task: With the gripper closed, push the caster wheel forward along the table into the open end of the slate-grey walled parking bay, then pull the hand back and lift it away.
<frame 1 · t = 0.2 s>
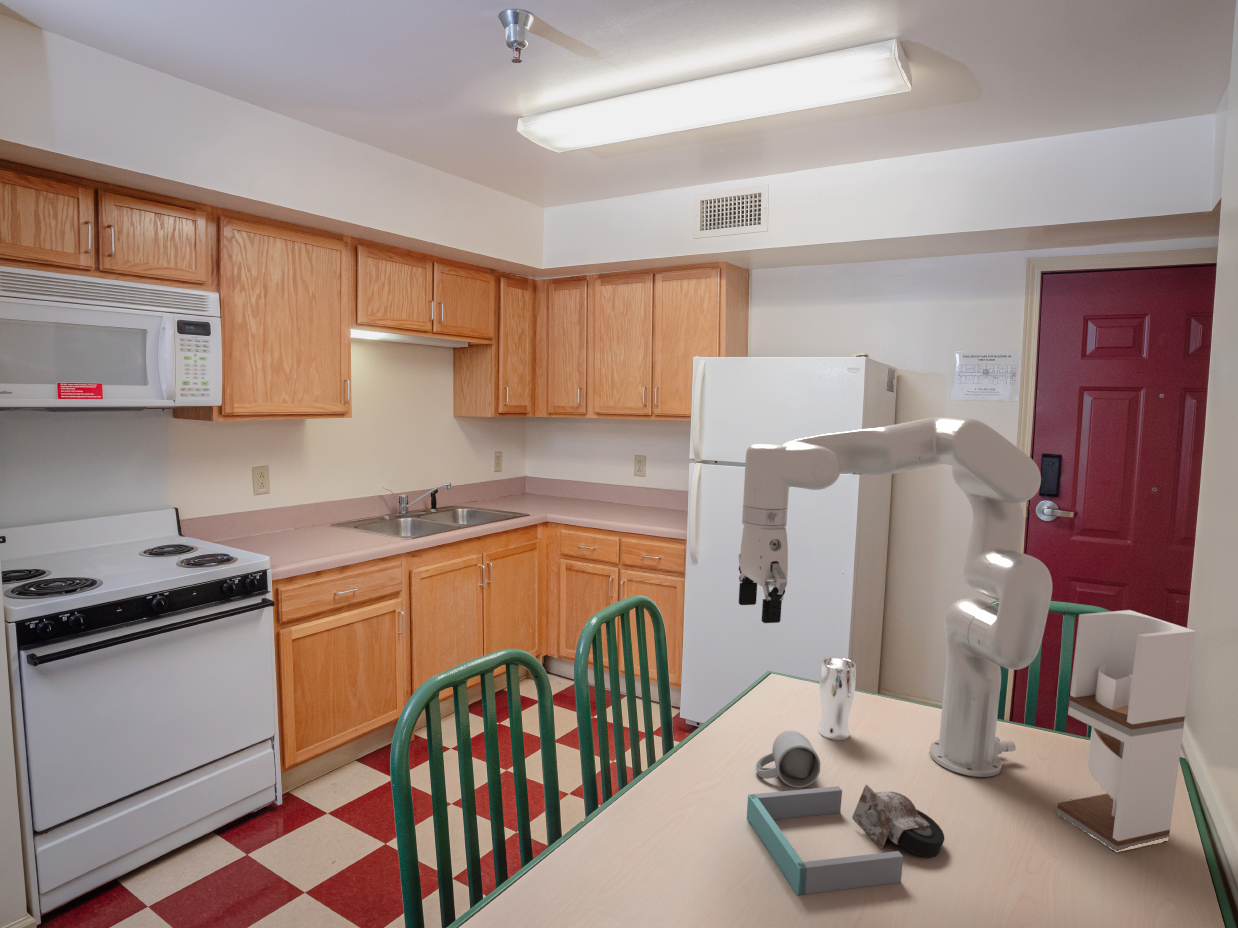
hand: (758, 612, 128), 31 cm above the table, tool pointing down, fingers open, 9 cm apart
parking bay: (819, 847, 113), on the table
white shelf stand: (1110, 828, 121), on the table
ceramic mug: (786, 777, 133), on the table
caster wheel: (901, 840, 116), on the table
beer glass: (833, 733, 150), on the table
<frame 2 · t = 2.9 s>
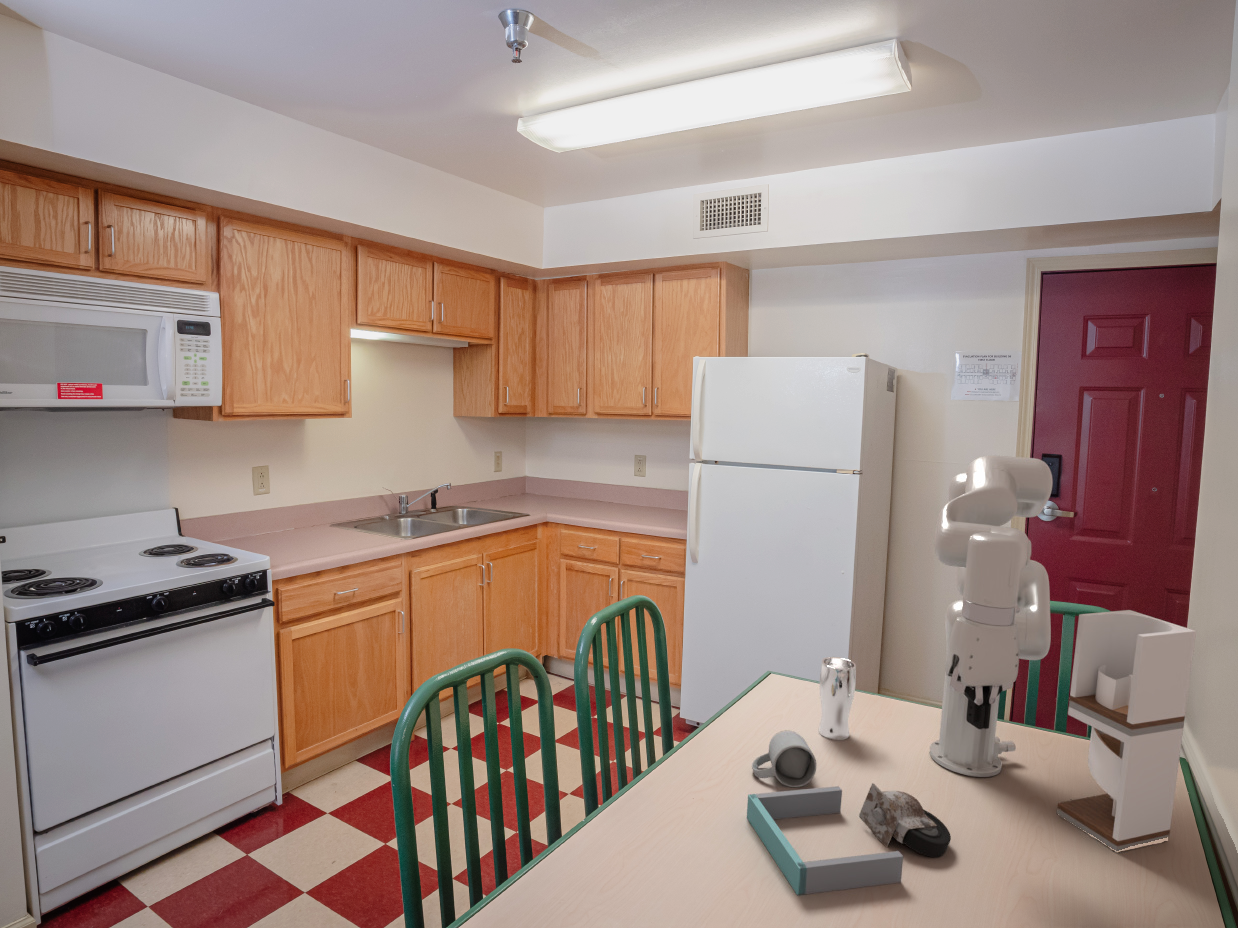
hand: (977, 724, 116), 18 cm above the table, tool pointing down, fingers closed
caster wheel: (908, 839, 116), on the table
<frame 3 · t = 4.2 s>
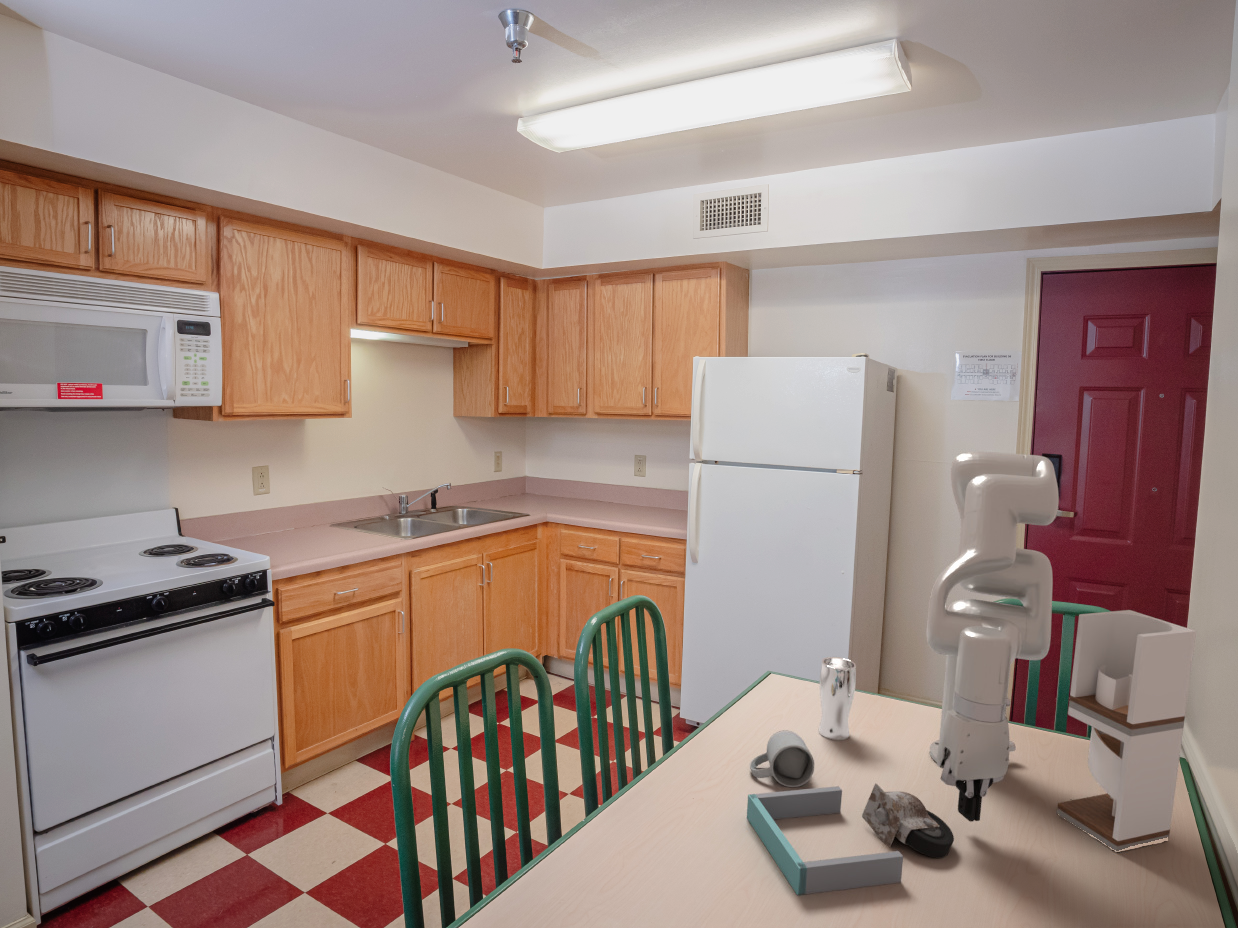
hand: (968, 815, 118), 3 cm above the table, tool pointing down, fingers closed
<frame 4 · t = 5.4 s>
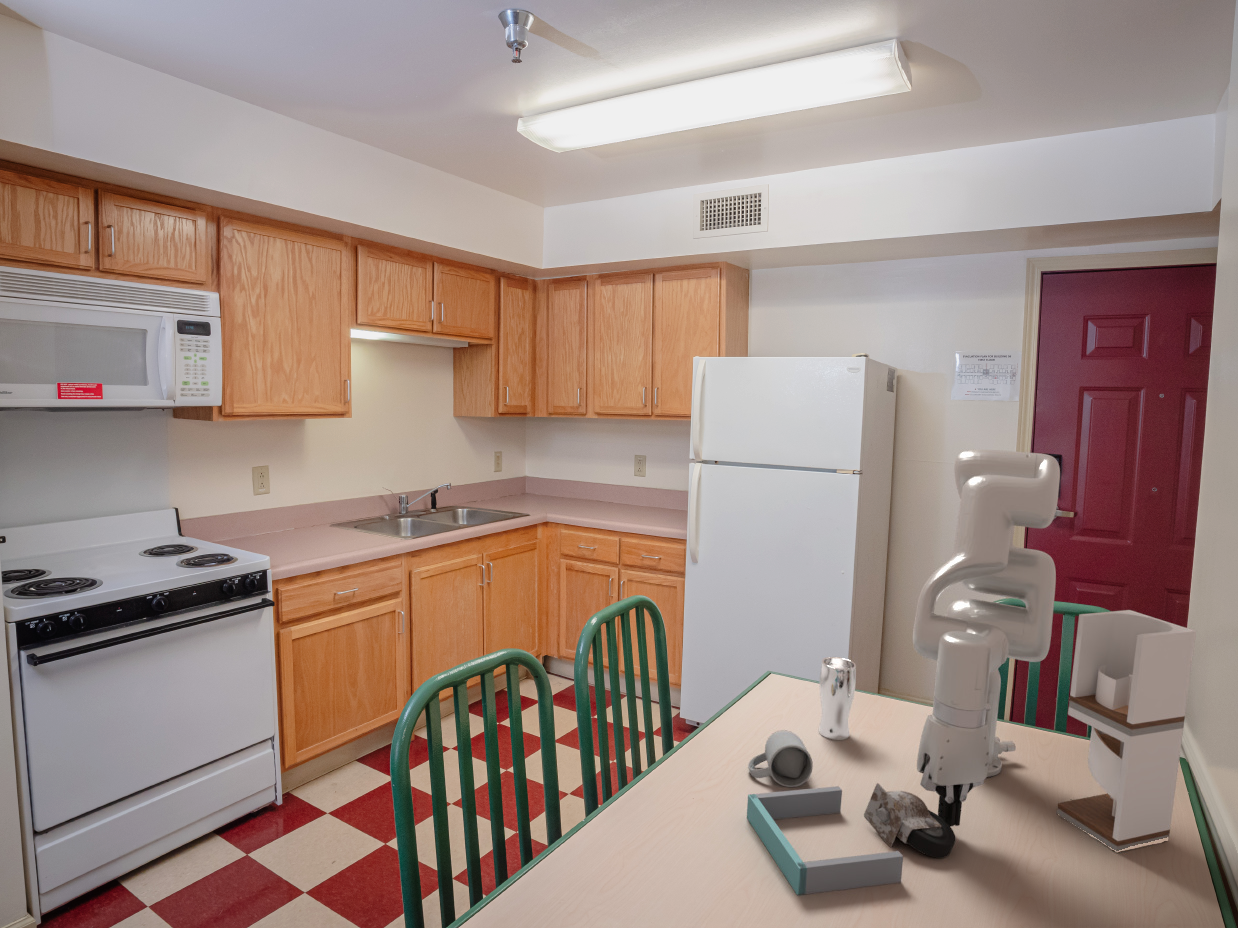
hand: (948, 820, 117), 2 cm above the table, tool pointing down, fingers closed
caster wheel: (912, 840, 116), on the table, touching gripper
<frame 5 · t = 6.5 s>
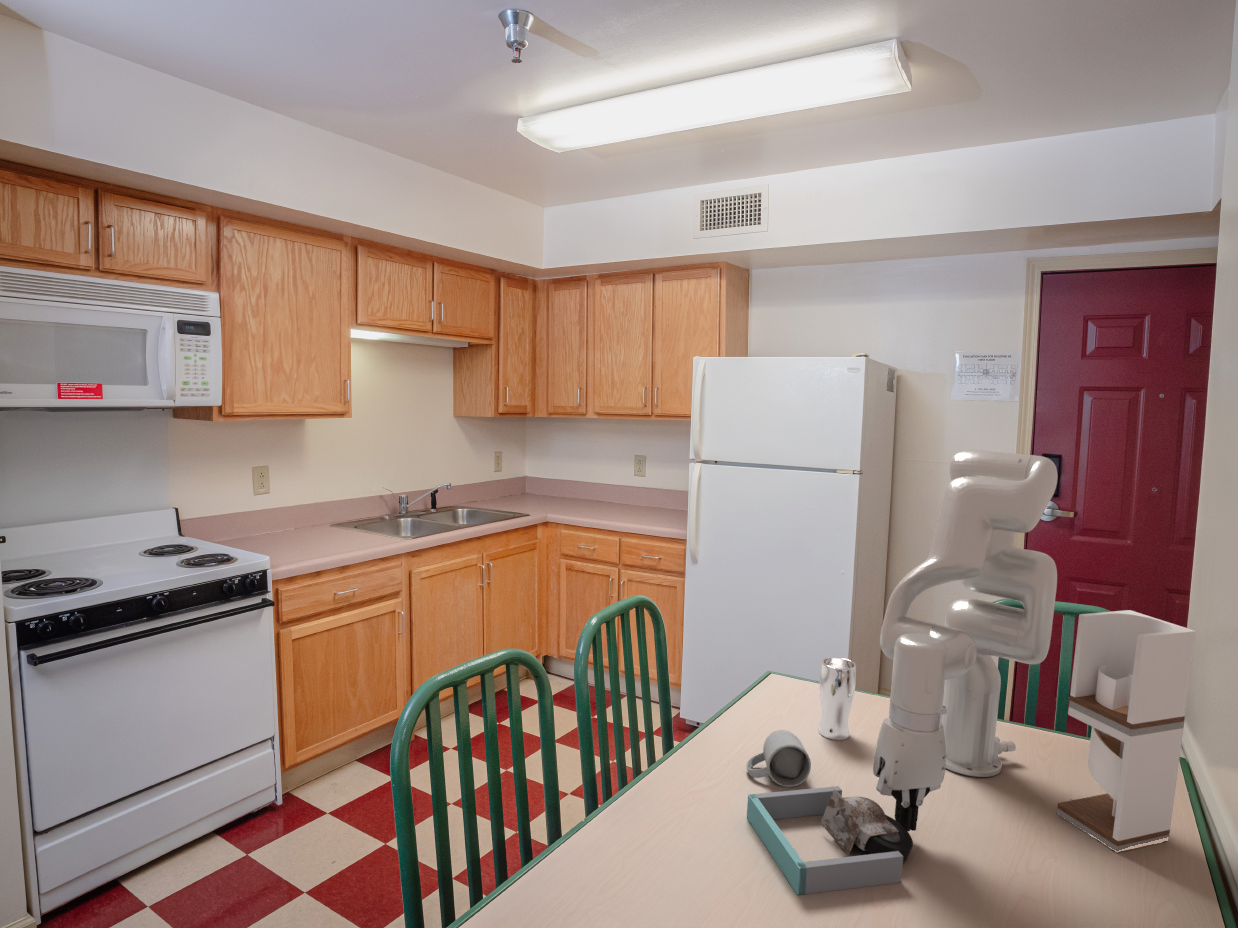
hand: (905, 825, 116), 2 cm above the table, tool pointing down, fingers closed
caster wheel: (870, 846, 114), on the table, touching gripper
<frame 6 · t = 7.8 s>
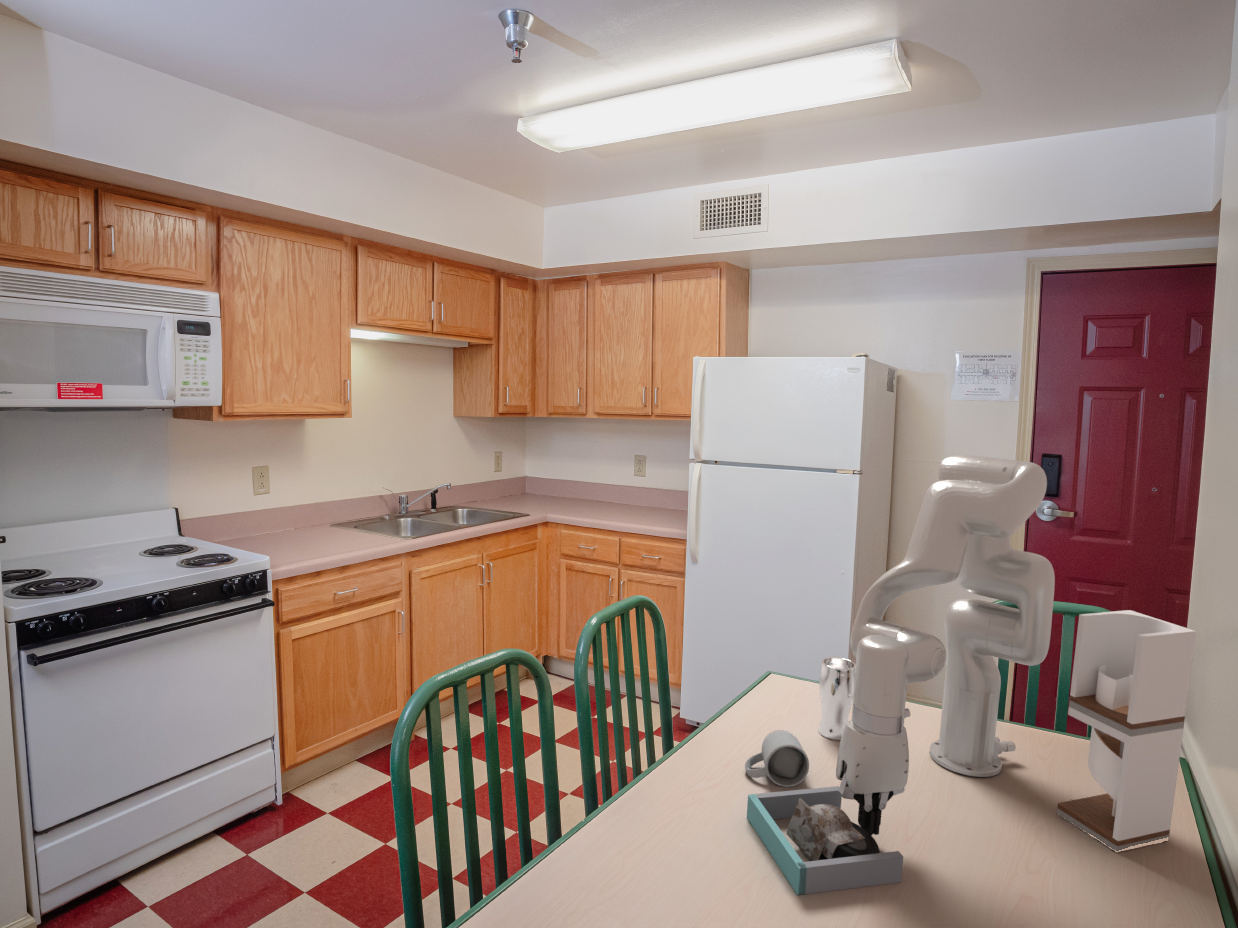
hand: (868, 829, 114), 2 cm above the table, tool pointing down, fingers closed
caster wheel: (836, 854, 112), on the table, touching gripper
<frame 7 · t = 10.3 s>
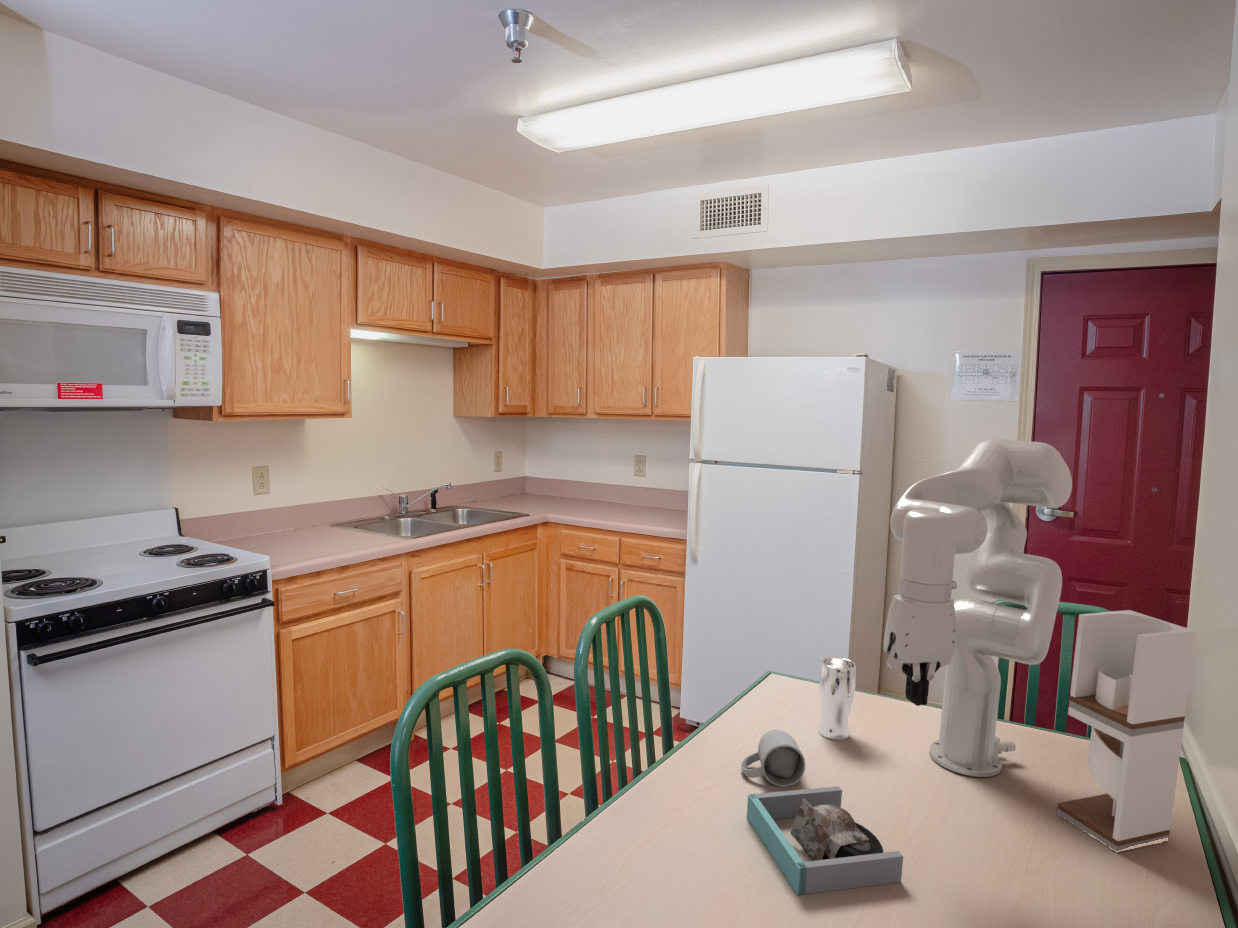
hand: (916, 701, 116), 22 cm above the table, tool pointing down, fingers closed
caster wheel: (840, 855, 112), on the table
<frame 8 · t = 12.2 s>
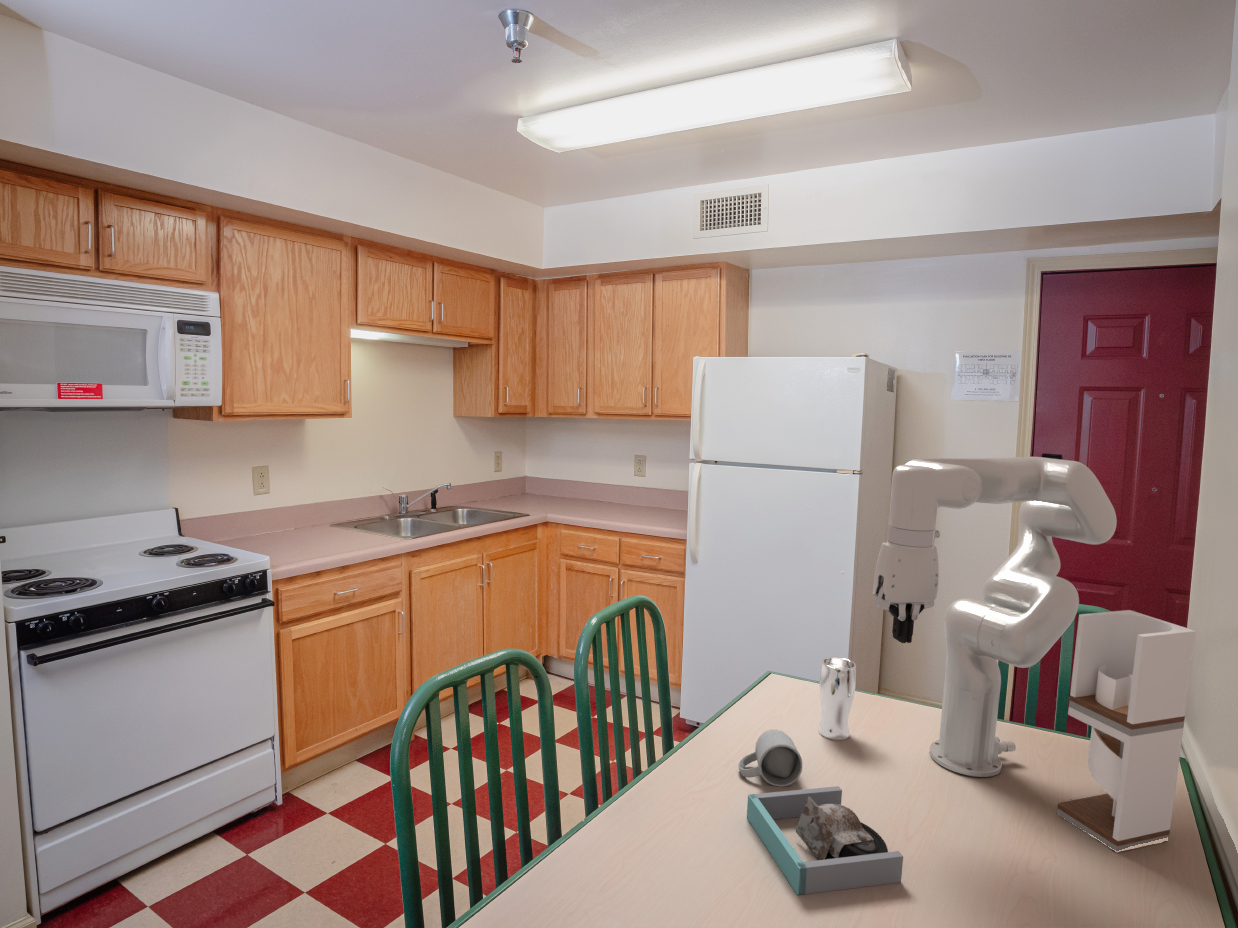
hand: (901, 640, 128), 27 cm above the table, tool pointing down, fingers closed
at the end: caster wheel inside the target area on the parking bay (5.5 cm from its centre), point 0.0 cm above the parking bay's base; caster wheel tilted 2°; caster wheel moved 10.8 cm from its start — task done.
